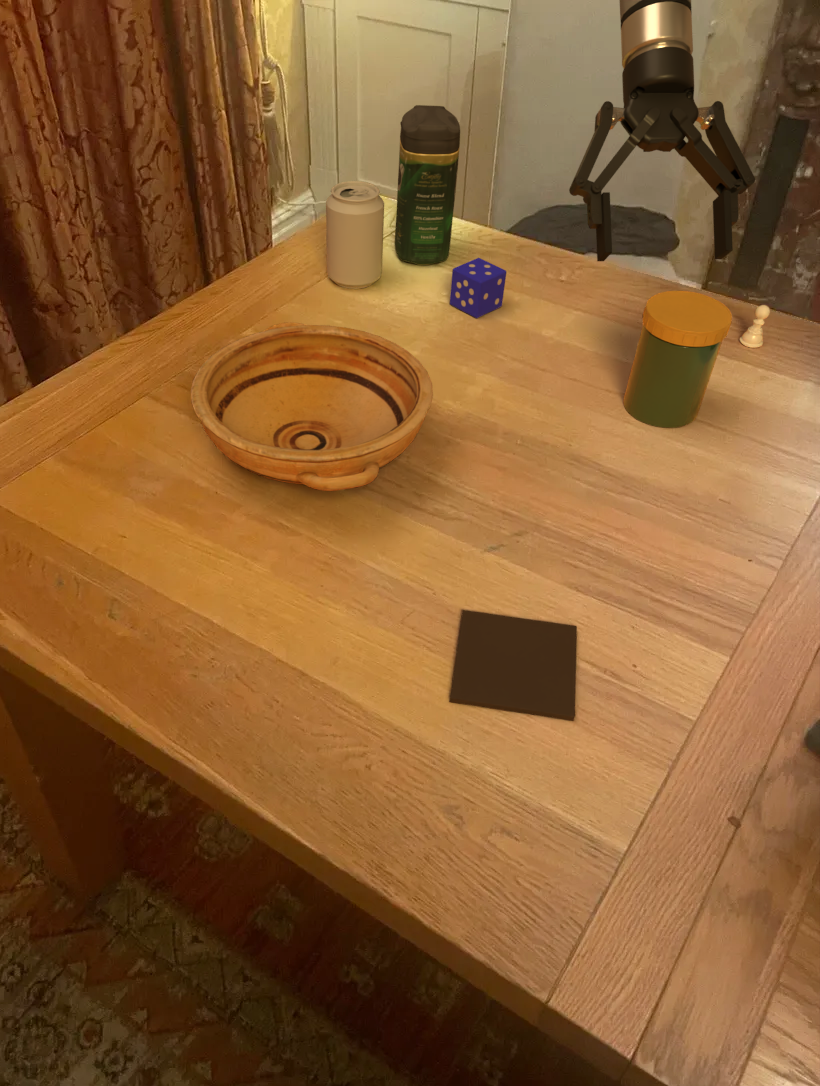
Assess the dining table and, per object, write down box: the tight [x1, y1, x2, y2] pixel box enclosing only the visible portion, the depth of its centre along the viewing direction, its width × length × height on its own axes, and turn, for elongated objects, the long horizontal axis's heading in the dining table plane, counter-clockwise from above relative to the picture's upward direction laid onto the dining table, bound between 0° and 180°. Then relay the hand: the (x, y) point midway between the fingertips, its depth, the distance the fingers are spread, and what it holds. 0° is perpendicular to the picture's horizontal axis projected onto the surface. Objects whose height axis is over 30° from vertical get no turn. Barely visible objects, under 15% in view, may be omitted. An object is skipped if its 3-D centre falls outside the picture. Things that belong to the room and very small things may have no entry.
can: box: [325, 180, 385, 290], centre depth 119 cm, size 8×8×12 cm
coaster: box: [448, 609, 578, 722], centre depth 76 cm, size 10×10×1 cm
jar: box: [622, 323, 724, 429], centre depth 100 cm, size 8×8×12 cm
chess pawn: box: [739, 304, 771, 349], centre depth 112 cm, size 3×3×5 cm
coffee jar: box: [394, 104, 461, 266], centre depth 123 cm, size 10×8×19 cm
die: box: [449, 257, 507, 319], centre depth 117 cm, size 5×5×5 cm
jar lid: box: [641, 290, 733, 347], centre depth 96 cm, size 9×9×2 cm
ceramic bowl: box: [190, 321, 434, 492], centre depth 94 cm, size 30×24×8 cm
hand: (664, 256), depth 101 cm, fingers open, 13 cm apart
